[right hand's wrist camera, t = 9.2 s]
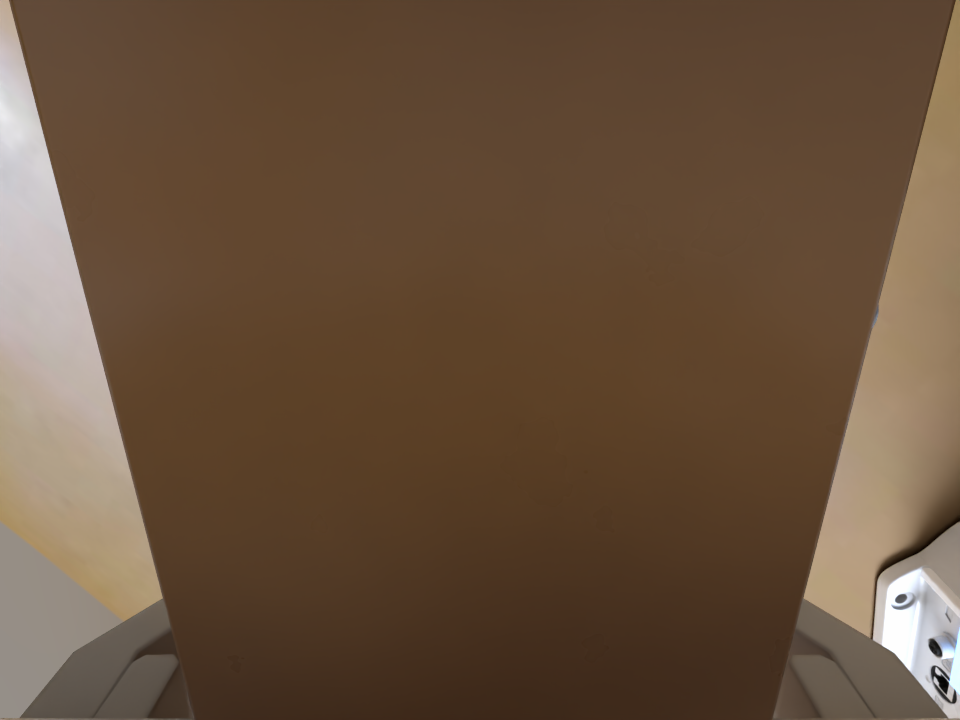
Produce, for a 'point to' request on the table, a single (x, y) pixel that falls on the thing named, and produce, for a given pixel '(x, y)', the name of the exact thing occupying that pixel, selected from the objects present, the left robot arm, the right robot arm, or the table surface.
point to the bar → (482, 330)
